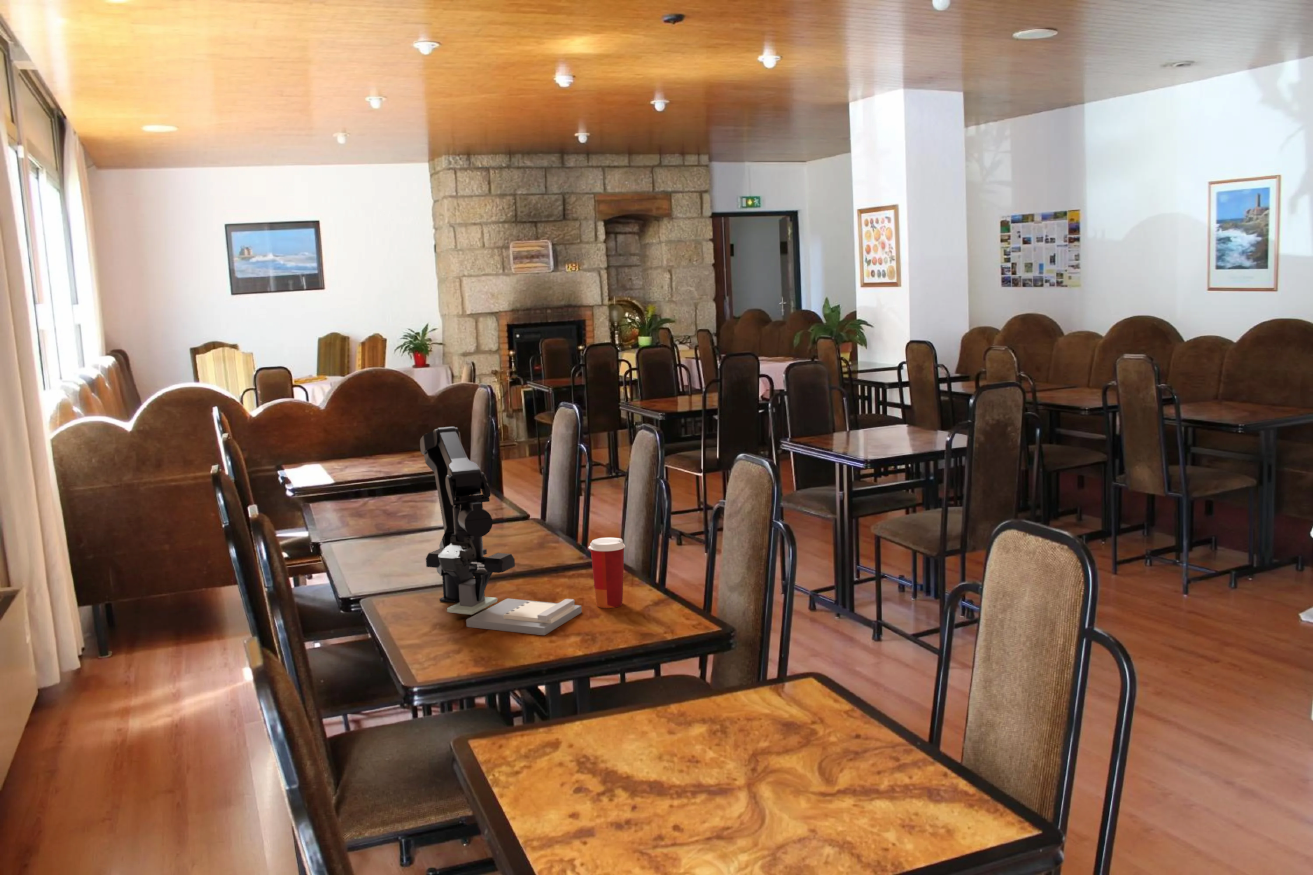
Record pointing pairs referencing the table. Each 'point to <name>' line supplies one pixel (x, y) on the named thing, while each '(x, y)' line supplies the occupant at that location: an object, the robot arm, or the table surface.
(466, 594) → the gray block on plate
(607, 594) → the paper cup
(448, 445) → the robot arm
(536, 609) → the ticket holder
